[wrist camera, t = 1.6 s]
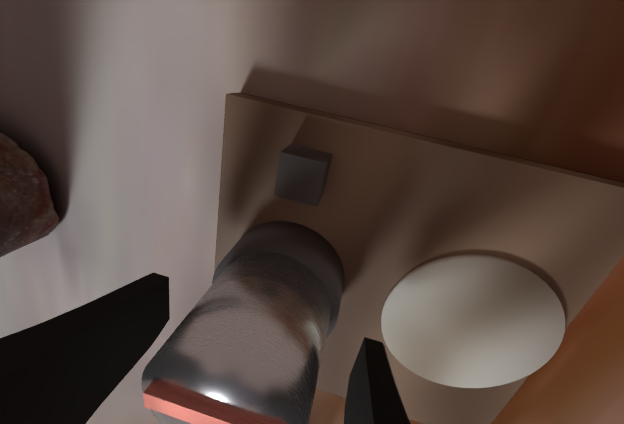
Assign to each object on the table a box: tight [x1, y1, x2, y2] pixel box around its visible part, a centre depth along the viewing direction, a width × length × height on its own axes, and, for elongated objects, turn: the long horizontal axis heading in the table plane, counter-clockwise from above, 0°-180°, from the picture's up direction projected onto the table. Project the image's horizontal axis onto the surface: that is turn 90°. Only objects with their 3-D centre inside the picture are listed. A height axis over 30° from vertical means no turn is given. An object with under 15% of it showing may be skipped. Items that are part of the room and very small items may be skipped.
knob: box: [142, 252, 331, 424], centre depth 10 cm, size 5×5×5 cm
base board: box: [212, 93, 624, 424], centre depth 13 cm, size 15×14×3 cm
